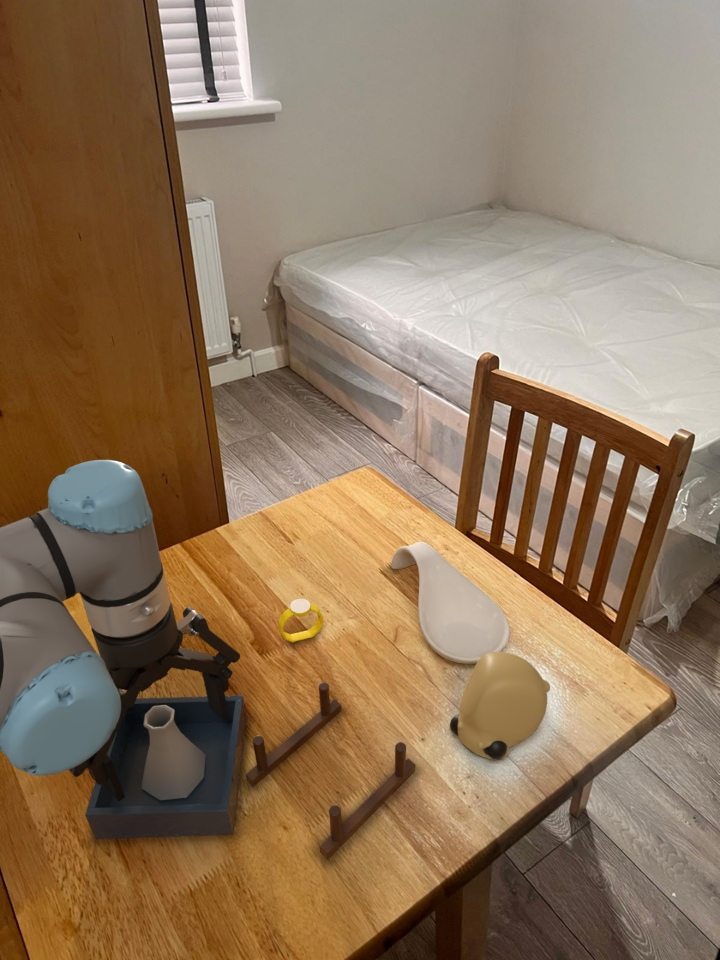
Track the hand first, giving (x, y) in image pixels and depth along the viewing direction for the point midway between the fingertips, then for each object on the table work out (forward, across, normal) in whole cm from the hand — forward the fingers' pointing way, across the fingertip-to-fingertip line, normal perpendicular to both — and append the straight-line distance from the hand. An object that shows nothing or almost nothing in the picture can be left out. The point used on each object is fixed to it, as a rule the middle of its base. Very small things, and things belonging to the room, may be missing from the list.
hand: (169, 750), depth 81 cm
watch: (+5, +24, +5) cm, 25 cm away
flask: (+4, 0, 0) cm, 4 cm away
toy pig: (+5, +30, -23) cm, 38 cm away
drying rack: (+5, +12, -13) cm, 18 cm away
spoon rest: (+5, +40, -6) cm, 41 cm away
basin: (+5, 0, 0) cm, 5 cm away
